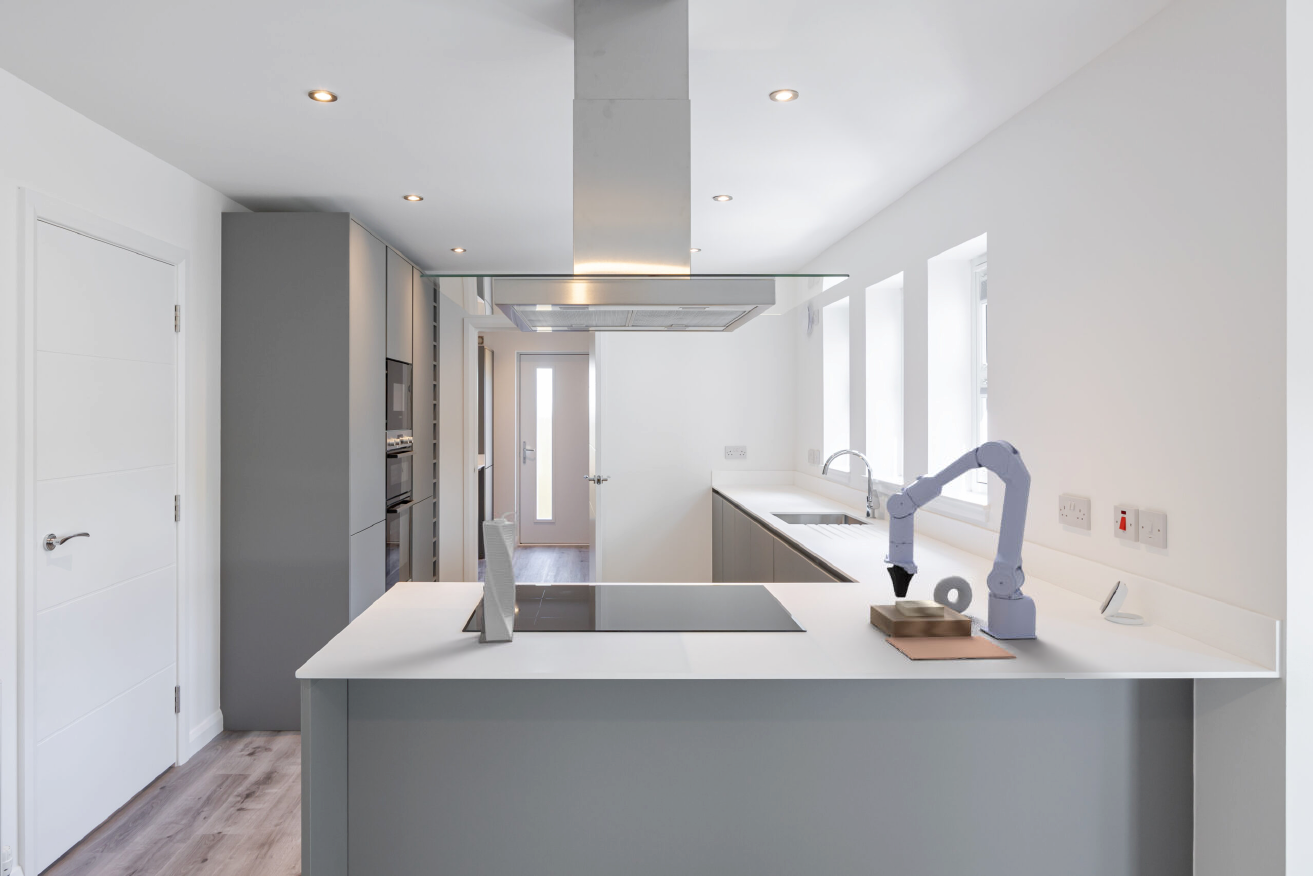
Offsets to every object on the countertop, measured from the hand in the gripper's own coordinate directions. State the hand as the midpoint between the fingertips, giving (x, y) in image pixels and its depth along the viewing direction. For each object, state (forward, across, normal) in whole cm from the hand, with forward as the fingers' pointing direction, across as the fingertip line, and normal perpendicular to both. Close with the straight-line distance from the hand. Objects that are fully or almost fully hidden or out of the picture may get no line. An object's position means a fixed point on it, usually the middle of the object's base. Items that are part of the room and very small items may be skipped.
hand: (900, 597), depth 185 cm
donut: (+5, -1, +14) cm, 15 cm away
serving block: (+5, +11, 0) cm, 12 cm away
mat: (+5, +25, 0) cm, 26 cm away
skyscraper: (+5, +12, -96) cm, 97 cm away
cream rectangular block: (+1, +11, 0) cm, 11 cm away
